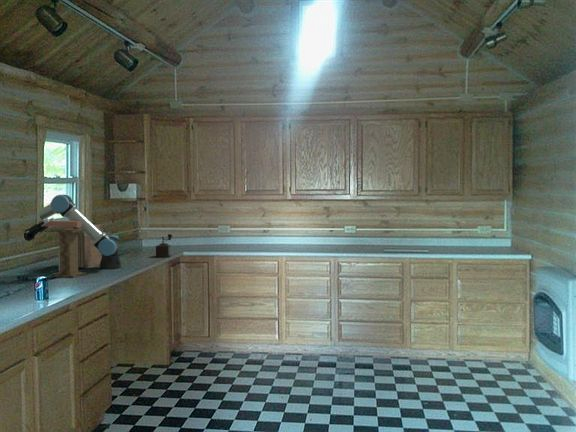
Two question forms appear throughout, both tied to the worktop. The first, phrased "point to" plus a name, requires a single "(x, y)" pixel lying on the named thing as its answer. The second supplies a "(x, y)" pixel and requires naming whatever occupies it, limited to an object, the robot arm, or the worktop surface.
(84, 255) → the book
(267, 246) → the worktop surface
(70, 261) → the shelf stand
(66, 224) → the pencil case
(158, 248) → the coffee grinder
